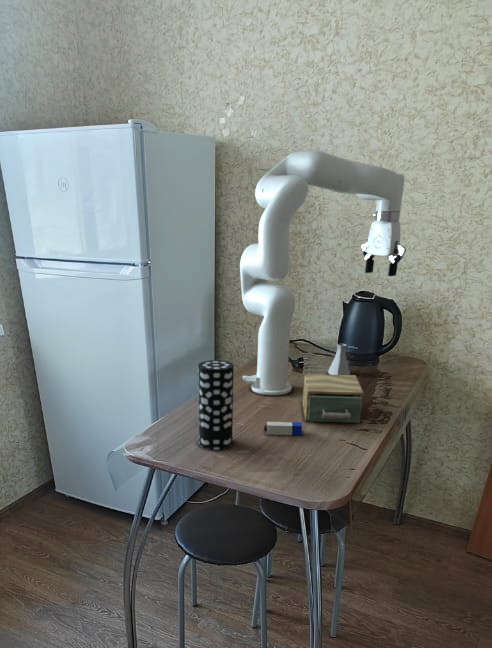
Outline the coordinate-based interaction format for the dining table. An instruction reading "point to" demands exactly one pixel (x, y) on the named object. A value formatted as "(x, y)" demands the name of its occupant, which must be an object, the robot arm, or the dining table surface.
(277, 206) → the robot arm
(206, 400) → the white-spotted black cylinder
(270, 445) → the dining table surface
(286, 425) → the white and blue block
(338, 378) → the cabinet
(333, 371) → the flask
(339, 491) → the dining table surface
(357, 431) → the dining table surface
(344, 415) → the drawer
